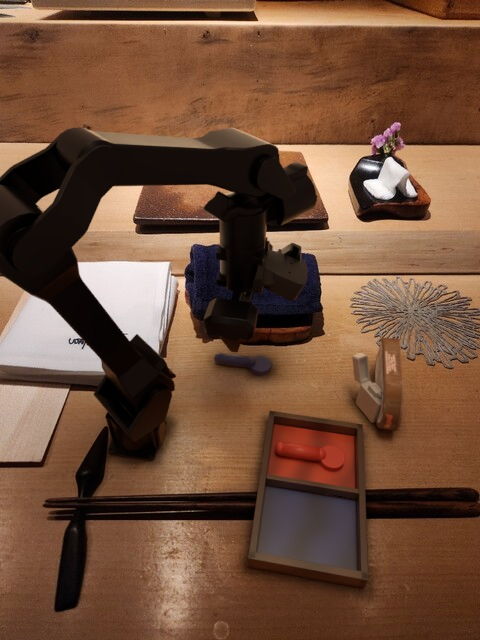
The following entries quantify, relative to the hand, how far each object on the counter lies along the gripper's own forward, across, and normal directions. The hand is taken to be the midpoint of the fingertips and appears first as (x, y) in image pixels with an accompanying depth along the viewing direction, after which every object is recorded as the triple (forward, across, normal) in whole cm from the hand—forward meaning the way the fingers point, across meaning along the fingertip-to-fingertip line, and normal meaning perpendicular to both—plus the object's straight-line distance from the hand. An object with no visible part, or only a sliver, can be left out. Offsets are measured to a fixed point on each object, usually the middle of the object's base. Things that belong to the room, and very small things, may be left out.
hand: (240, 329), depth 67 cm
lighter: (+11, -4, -20) cm, 23 cm away
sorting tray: (+9, -19, -13) cm, 24 cm away
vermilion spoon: (+8, -14, -12) cm, 20 cm away
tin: (+9, -2, -22) cm, 24 cm away
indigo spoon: (+9, +1, 0) cm, 9 cm away
